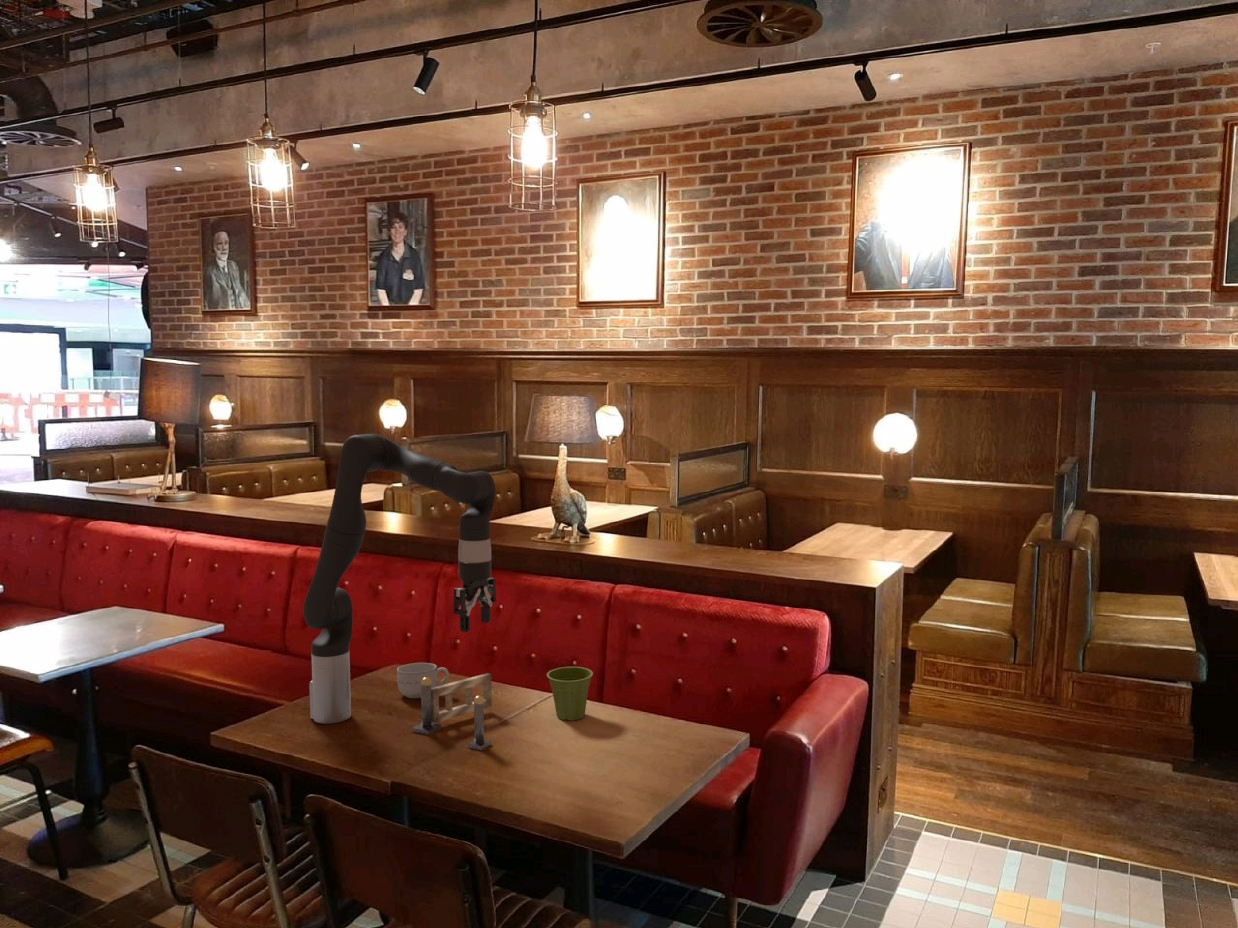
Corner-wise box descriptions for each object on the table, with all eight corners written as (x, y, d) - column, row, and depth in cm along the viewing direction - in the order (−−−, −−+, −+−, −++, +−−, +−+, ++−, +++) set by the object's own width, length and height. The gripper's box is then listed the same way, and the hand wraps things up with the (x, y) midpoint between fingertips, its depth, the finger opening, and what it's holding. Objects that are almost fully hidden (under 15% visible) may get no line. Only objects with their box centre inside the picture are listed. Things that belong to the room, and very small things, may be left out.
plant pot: (566, 704, 245) (566, 663, 244) (602, 714, 238) (602, 671, 237) (537, 717, 236) (537, 675, 235) (573, 728, 229) (573, 683, 228)
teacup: (391, 700, 249) (390, 671, 248) (406, 687, 259) (406, 659, 259) (440, 703, 246) (439, 674, 246) (454, 690, 257) (453, 662, 256)
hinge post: (412, 731, 226) (411, 678, 225) (425, 724, 231) (424, 673, 230) (428, 735, 224) (427, 681, 223) (441, 728, 228) (440, 675, 227)
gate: (434, 723, 228) (433, 689, 227) (430, 721, 229) (430, 688, 228) (491, 706, 240) (491, 674, 239) (488, 704, 241) (487, 672, 240)
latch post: (467, 747, 216) (466, 696, 215) (477, 741, 220) (476, 691, 219) (481, 750, 215) (480, 699, 214) (491, 744, 218) (490, 694, 217)
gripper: (478, 551, 221) (478, 617, 222) (443, 562, 208) (444, 632, 209) (505, 554, 218) (505, 621, 219) (471, 565, 205) (471, 636, 206)
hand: (475, 626), depth 214 cm, fingers open, 8 cm apart
